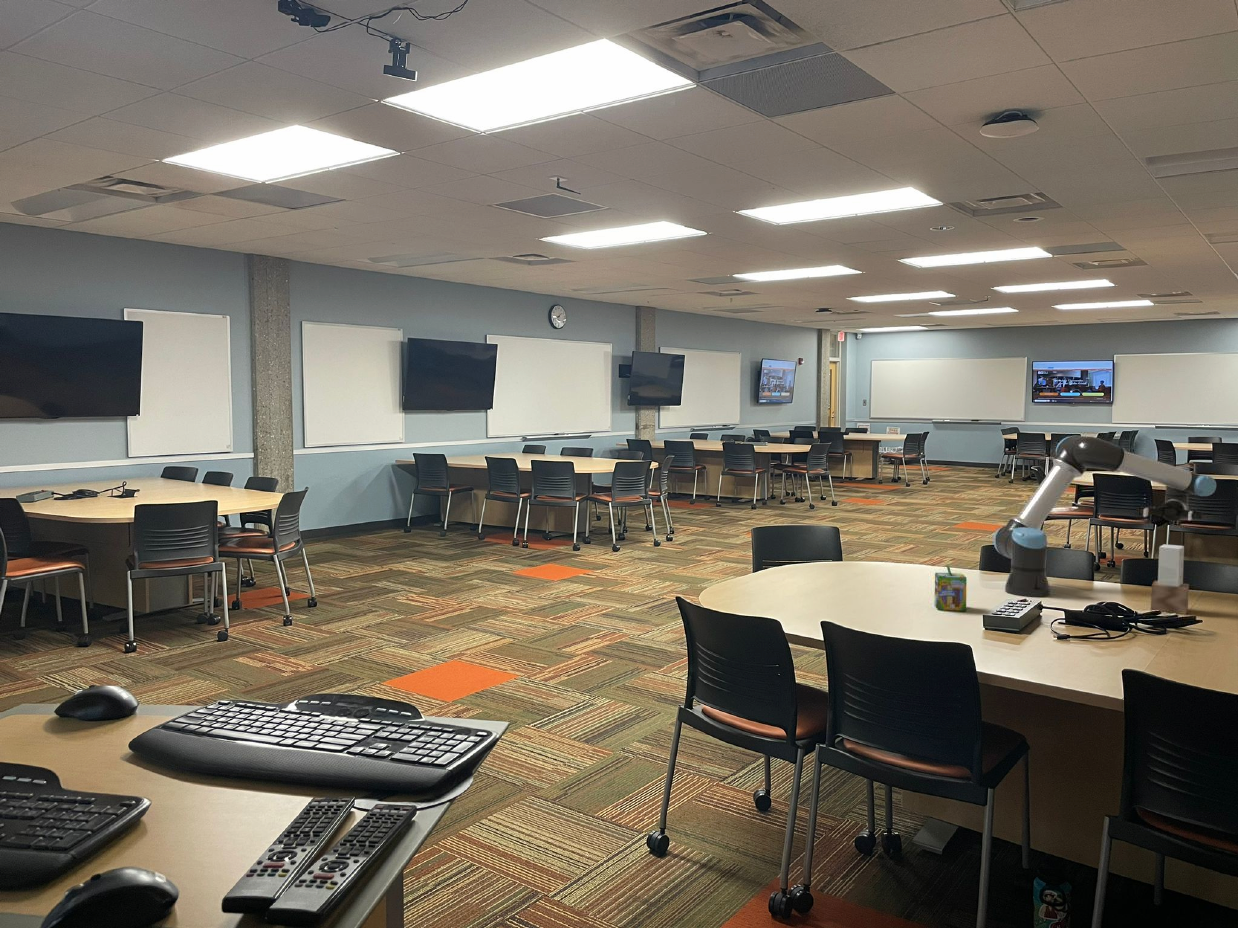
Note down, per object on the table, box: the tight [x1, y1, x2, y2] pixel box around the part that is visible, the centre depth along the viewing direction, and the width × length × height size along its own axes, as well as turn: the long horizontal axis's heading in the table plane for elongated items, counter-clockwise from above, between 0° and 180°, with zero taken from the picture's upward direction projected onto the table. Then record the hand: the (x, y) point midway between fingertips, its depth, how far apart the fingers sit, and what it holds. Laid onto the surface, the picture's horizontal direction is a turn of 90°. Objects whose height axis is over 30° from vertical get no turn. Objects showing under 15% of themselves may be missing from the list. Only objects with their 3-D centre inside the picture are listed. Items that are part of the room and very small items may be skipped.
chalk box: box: [933, 563, 967, 612], centre depth 306 cm, size 9×9×15 cm
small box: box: [1157, 543, 1185, 587], centre depth 306 cm, size 8×6×13 cm
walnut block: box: [1150, 580, 1190, 616], centre depth 307 cm, size 10×10×9 cm
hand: (1166, 514), depth 320 cm, fingers open, 13 cm apart
